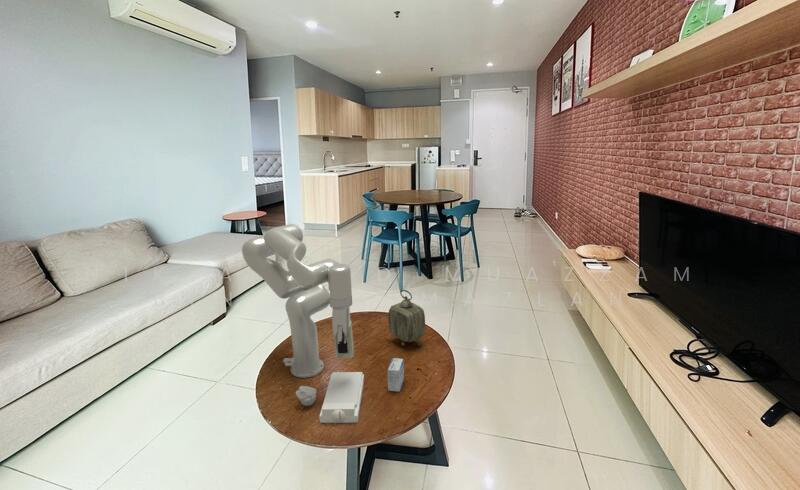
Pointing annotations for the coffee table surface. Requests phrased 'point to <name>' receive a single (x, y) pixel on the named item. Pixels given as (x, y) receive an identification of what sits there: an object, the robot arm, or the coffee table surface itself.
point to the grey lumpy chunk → (306, 395)
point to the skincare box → (349, 344)
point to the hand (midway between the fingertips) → (344, 348)
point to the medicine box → (396, 374)
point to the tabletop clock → (407, 320)
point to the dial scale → (343, 398)
